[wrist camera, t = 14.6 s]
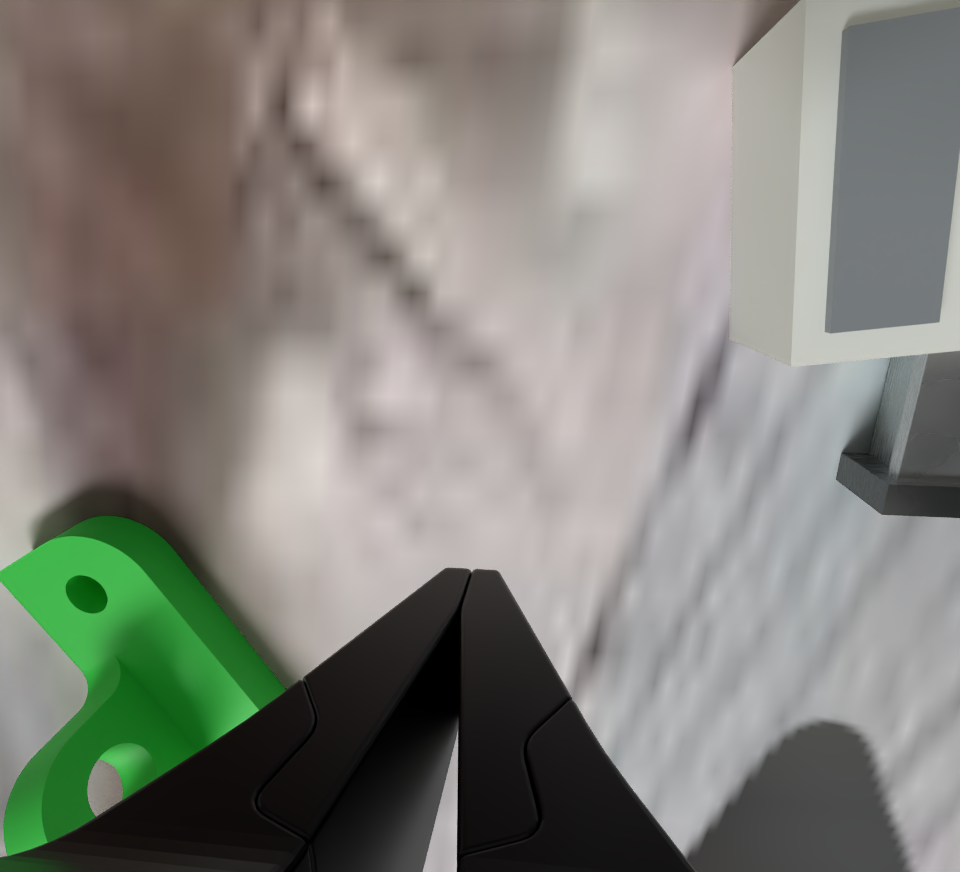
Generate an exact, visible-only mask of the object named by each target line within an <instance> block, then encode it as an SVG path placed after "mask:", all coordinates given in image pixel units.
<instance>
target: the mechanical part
mask: <svg viewBox="0 0 960 872" xmlns="http://www.w3.org/2000/svg"><path fill="white" fill-rule="evenodd" d="M0 581H1V582H2V584H3V585H4V586H5V587H6V588H7V589H8V590H9V591H10V592H11V594H12V595H13V596H14V597H15V598H16V599H17V600H18V601H19V602H20V603H21V605H22V606H23V607H24V608H25V609H26V610H27V611H28V612H29V613H30V615H31V616H32V617H33V618H34V619H35V620H36V621H37V622H38V623H39V625H40V626H41V627H42V628H43V629H44V630H45V631H46V632H47V633H48V634H49V636H50V637H51V638H52V639H53V640H54V641H55V642H56V643H57V644H58V646H59V647H60V648H61V649H62V650H63V651H64V652H65V653H66V654H67V656H68V657H69V658H70V659H71V660H72V661H73V662H74V663H75V664H76V665H77V667H78V668H79V669H80V670H81V671H82V672H83V674H84V675H85V677H86V680H87V683H88V695H87V699H86V701H85V703H84V705H83V707H82V708H81V710H80V711H79V712H78V713H77V714H76V715H75V716H74V717H73V718H72V719H71V720H70V721H69V722H68V723H67V724H66V725H65V726H64V727H63V728H62V729H61V730H60V731H59V732H58V733H57V734H56V735H55V736H54V737H53V738H52V739H51V740H50V741H49V742H48V743H47V744H46V745H45V746H44V747H43V748H42V749H41V750H40V751H39V752H38V753H37V754H36V755H35V756H34V757H33V758H32V759H31V760H30V761H29V763H28V764H27V765H26V766H25V768H24V769H23V771H22V772H21V774H20V775H19V777H18V779H17V781H16V783H15V784H14V787H13V789H12V791H11V794H10V797H9V800H8V803H7V807H6V811H5V818H4V842H5V848H6V852H7V855H8V856H9V855H13V854H16V853H20V852H23V851H26V850H30V849H33V848H35V847H38V846H40V845H43V844H45V843H48V842H50V841H53V840H55V839H57V838H59V837H61V836H63V835H65V834H67V833H69V832H71V831H73V830H75V829H77V828H78V827H80V826H82V825H84V824H85V823H87V822H89V821H90V820H92V819H94V818H95V817H96V816H95V815H94V813H93V812H92V810H91V808H90V805H89V802H88V797H87V785H88V780H89V776H90V773H91V771H92V768H93V766H94V765H95V763H96V762H97V760H98V759H99V760H103V761H106V762H108V763H110V764H111V765H112V766H113V767H114V768H115V769H116V770H117V772H118V773H119V775H120V777H121V780H122V785H123V798H122V800H123V799H125V798H127V797H128V796H130V795H131V794H133V793H134V792H136V791H138V790H139V789H141V788H142V787H144V786H145V785H147V784H148V783H150V782H152V781H153V780H155V779H156V778H158V777H159V776H161V775H163V774H164V773H166V772H167V771H169V770H170V769H172V768H173V767H175V766H177V765H178V764H180V763H181V762H183V761H184V760H186V759H187V758H189V757H191V756H192V755H194V754H195V753H197V752H198V751H200V750H202V749H203V748H205V747H206V746H208V745H209V744H211V743H212V742H214V741H215V740H217V739H218V738H220V737H221V736H223V735H224V734H226V733H227V732H229V731H230V730H232V729H233V728H235V727H236V726H238V725H239V724H241V723H242V722H244V721H245V720H247V719H248V718H249V717H251V716H252V715H253V714H255V713H256V712H257V711H259V710H260V709H262V708H263V707H264V706H266V705H267V704H268V703H270V702H271V701H273V700H274V699H275V698H277V697H278V696H279V695H281V694H282V693H283V692H285V691H286V689H285V688H284V686H283V685H282V684H281V683H280V681H279V680H278V679H277V678H276V676H275V675H274V674H273V673H272V671H271V670H270V669H269V668H268V666H267V665H266V664H265V663H264V661H263V660H262V659H261V658H260V657H259V655H258V654H257V653H256V652H255V650H254V649H253V648H252V647H251V645H250V644H249V643H248V642H247V640H246V639H245V638H244V637H243V635H242V634H241V633H240V632H239V630H238V629H237V628H236V627H235V625H234V624H233V623H232V622H231V620H230V619H229V618H228V617H227V615H226V614H225V613H224V612H223V610H222V609H221V608H220V607H219V605H218V604H217V603H216V602H215V600H214V599H213V598H212V597H211V596H210V594H209V593H208V592H207V591H206V589H205V588H204V587H203V586H202V584H201V583H200V582H199V581H198V579H197V578H196V577H195V576H194V574H193V573H192V572H191V571H190V569H189V568H188V567H187V566H186V564H185V563H184V562H183V561H182V559H181V558H180V557H179V556H178V554H177V553H176V552H175V551H174V549H173V548H172V547H171V546H170V545H169V544H168V543H167V542H166V541H165V540H164V539H163V538H162V537H161V536H159V535H158V534H157V533H156V532H154V531H153V530H151V529H150V528H148V527H146V526H144V525H142V524H140V523H138V522H136V521H133V520H130V519H127V518H123V517H117V516H97V517H93V518H89V519H86V520H84V521H82V522H80V523H78V524H77V525H75V526H73V527H71V528H70V529H68V530H66V531H65V532H63V533H61V534H59V535H58V536H56V537H54V538H53V539H51V540H49V541H47V542H46V543H44V544H42V545H41V546H39V547H38V548H36V549H34V550H33V551H31V552H30V553H28V554H27V555H25V556H23V557H22V558H20V559H19V560H17V561H16V562H14V563H12V564H11V565H9V566H8V567H6V568H4V569H3V570H1V571H0Z"/></svg>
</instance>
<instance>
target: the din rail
mask: <svg viewBox="0 0 960 872" xmlns="http://www.w3.org/2000/svg"><path fill="white" fill-rule="evenodd" d="M836 480H837V481H838V482H840V483H841V484H842V485H844V486H845V487H846V488H848V489H849V490H850V491H852V492H853V493H854V494H855V495H857V496H858V497H859V498H861V499H862V500H863V501H865V502H866V503H867V504H868V505H870V506H871V507H872V508H874V509H875V510H876V511H878V512H879V513H880V514H882V515H903V516H927V517H951V518H960V351H952V352H942V353H931V354H921V355H910V356H900V357H891V360H890V365H889V369H888V374H887V378H886V382H885V387H884V391H883V396H882V400H881V405H880V409H879V413H878V418H877V422H876V427H875V431H874V435H873V440H872V444H871V449H870V453H869V454H851V453H842V455H841V459H840V464H839V469H838V474H837V478H836Z"/></svg>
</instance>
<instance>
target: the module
mask: <svg viewBox="0 0 960 872" xmlns="http://www.w3.org/2000/svg"><path fill="white" fill-rule="evenodd" d="M730 340H732V341H734V342H736V343H739V344H741V345H743V346H745V347H748V348H750V349H752V350H754V351H757V352H759V353H761V354H763V355H765V356H768V357H770V358H772V359H774V360H777V361H779V362H781V363H783V364H786V365H788V366H790V367H795V366H806V365H816V364H826V363H837V362H847V361H858V360H868V359H879V358H889V357H900V356H910V355H921V354H931V353H942V352H952V351H960V0H800V1H799V2H798V3H797V4H796V5H795V6H794V7H793V8H792V9H791V10H790V11H789V12H788V13H787V14H786V15H785V16H784V17H783V18H782V19H781V20H780V21H779V22H778V23H777V24H776V25H775V26H774V27H773V28H772V29H771V30H770V31H769V32H768V33H767V34H766V35H765V36H764V37H763V38H762V39H761V40H760V41H759V42H757V43H756V44H755V45H754V46H753V47H752V48H751V49H750V50H749V51H748V52H747V53H746V54H745V55H744V56H743V57H742V58H741V59H740V60H739V61H738V62H737V63H736V64H735V65H734V66H733V67H732V157H731V261H730Z"/></svg>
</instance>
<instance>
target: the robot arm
mask: <svg viewBox="0 0 960 872" xmlns="http://www.w3.org/2000/svg"><path fill="white" fill-rule="evenodd" d="M457 732H458V818H457V872H696V871H695V870H694V868H693V867H692V866H691V864H690V863H689V862H688V861H687V859H686V858H685V857H684V855H683V854H682V853H681V851H680V850H679V849H678V848H677V846H676V845H675V844H674V842H673V841H672V840H671V839H670V837H669V836H668V835H667V833H666V832H665V831H664V830H663V828H662V827H661V826H660V824H659V823H658V822H657V820H656V819H655V818H654V817H653V815H652V814H651V813H650V811H649V810H648V809H647V808H646V806H645V805H644V804H643V802H642V801H641V800H640V799H639V797H638V796H637V795H636V793H635V792H634V791H633V789H632V788H631V787H630V785H629V784H628V783H627V781H626V780H625V779H624V777H623V776H622V775H621V773H620V772H619V770H618V769H617V768H616V766H615V765H614V764H613V762H612V761H611V760H610V758H609V757H608V755H607V754H606V753H605V751H604V750H603V748H602V746H601V745H600V743H599V742H598V740H597V738H596V737H595V735H594V734H593V732H592V731H591V729H590V727H589V726H588V724H587V723H586V721H585V719H584V717H583V716H582V714H581V712H580V711H579V709H578V707H577V705H576V704H575V702H574V701H572V697H571V695H570V694H569V692H568V690H567V689H566V687H565V685H564V683H563V682H562V680H561V678H560V676H559V675H558V673H557V671H556V669H555V668H554V666H553V664H552V663H551V661H550V659H549V657H548V656H547V654H546V652H545V650H544V649H543V647H542V645H541V644H540V642H539V640H538V638H537V637H536V635H535V633H534V631H533V630H532V628H531V626H530V624H529V623H528V621H527V619H526V618H525V616H524V614H523V612H522V611H521V609H520V607H519V605H518V604H517V602H516V600H515V599H514V597H513V595H512V593H511V592H510V590H509V588H508V586H507V585H506V583H505V581H504V579H503V578H502V576H501V574H500V573H499V572H498V571H497V570H483V569H475V570H473V572H471V570H469V569H464V568H445V569H444V570H442V571H441V572H440V573H438V574H437V575H436V576H435V577H433V578H432V579H431V580H429V581H428V582H427V583H425V584H424V585H423V586H421V587H420V588H419V589H418V590H416V591H415V592H414V593H412V594H411V595H410V596H408V597H407V598H406V599H405V600H403V601H402V602H401V603H399V604H398V605H397V606H395V607H394V608H393V609H392V610H390V611H389V612H388V613H386V614H385V615H384V616H382V617H381V618H380V619H379V620H377V621H376V622H375V623H373V624H372V625H371V626H369V627H368V628H367V629H366V630H364V631H363V632H362V633H360V634H359V635H358V636H356V637H355V638H354V639H353V640H351V641H350V642H349V643H347V644H346V645H345V646H343V647H342V648H341V649H340V650H338V651H337V652H336V653H334V654H333V655H332V656H330V657H329V658H328V659H327V660H325V661H324V662H323V663H321V664H320V665H319V666H317V667H316V668H315V669H314V670H312V671H311V672H310V673H308V674H307V675H306V676H304V678H303V681H302V680H299V681H298V682H296V683H295V684H294V685H292V686H291V687H290V688H288V689H287V690H286V691H285V692H283V693H282V694H281V695H279V696H278V697H277V698H275V699H274V700H273V701H271V702H270V703H268V704H267V705H266V706H264V707H263V708H262V709H260V710H259V711H257V712H256V713H255V714H253V715H252V716H251V717H249V718H248V719H247V720H245V721H244V722H242V723H241V724H239V725H238V726H236V727H235V728H233V729H232V730H230V731H229V732H227V733H226V734H224V735H223V736H221V737H220V738H218V739H217V740H215V741H214V742H212V743H211V744H209V745H208V746H206V747H205V748H203V749H202V750H200V751H198V752H197V753H195V754H194V755H192V756H191V757H189V758H187V759H186V760H184V761H183V762H181V763H180V764H178V765H177V766H175V767H173V768H172V769H170V770H169V771H167V772H166V773H164V774H163V775H161V776H159V777H158V778H156V779H155V780H153V781H152V782H150V783H148V784H147V785H145V786H144V787H142V788H141V789H139V790H138V791H136V792H134V793H133V794H131V795H130V796H128V797H127V798H125V799H123V800H122V801H120V802H119V803H117V804H116V805H114V806H113V807H111V808H109V809H108V810H106V811H105V812H103V813H102V814H100V815H98V816H97V817H95V818H94V819H92V820H90V821H89V822H87V823H85V824H84V825H82V826H80V827H78V828H77V829H75V830H73V831H71V832H69V833H67V834H65V835H63V836H61V837H59V838H57V839H55V840H53V841H50V842H48V843H45V844H43V845H40V846H38V847H35V848H33V849H30V850H26V851H23V852H20V853H16V854H13V855H9V856H5V857H0V872H423V868H424V864H425V860H426V856H427V852H428V848H429V844H430V840H431V836H432V832H433V828H434V824H435V820H436V816H437V812H438V808H439V804H440V800H441V796H442V792H443V788H444V784H445V780H446V776H447V772H448V768H449V764H450V760H451V756H452V752H453V748H454V744H455V740H456V736H457Z"/></svg>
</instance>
